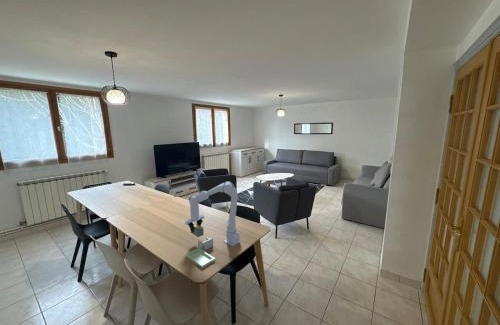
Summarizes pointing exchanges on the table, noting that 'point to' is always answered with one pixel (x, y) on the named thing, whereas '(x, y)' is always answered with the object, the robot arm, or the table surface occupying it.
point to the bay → (206, 244)
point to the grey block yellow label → (198, 230)
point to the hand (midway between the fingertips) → (195, 230)
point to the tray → (200, 257)
